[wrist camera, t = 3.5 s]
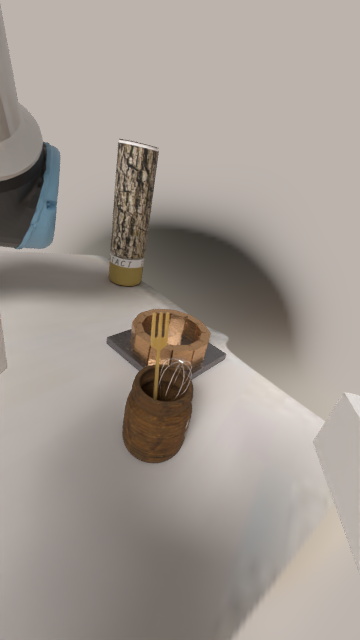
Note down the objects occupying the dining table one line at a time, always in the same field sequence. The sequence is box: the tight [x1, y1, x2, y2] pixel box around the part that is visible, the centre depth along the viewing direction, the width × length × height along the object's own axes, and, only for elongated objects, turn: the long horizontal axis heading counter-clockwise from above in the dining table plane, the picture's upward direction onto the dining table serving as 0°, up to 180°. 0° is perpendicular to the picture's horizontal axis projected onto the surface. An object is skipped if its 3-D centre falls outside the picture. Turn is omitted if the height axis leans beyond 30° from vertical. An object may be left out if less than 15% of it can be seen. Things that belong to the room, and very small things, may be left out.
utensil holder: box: [123, 312, 193, 463], centre depth 24 cm, size 6×6×12 cm
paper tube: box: [109, 139, 159, 286], centre depth 52 cm, size 7×7×25 cm
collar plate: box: [107, 309, 226, 380], centre depth 38 cm, size 12×12×4 cm
